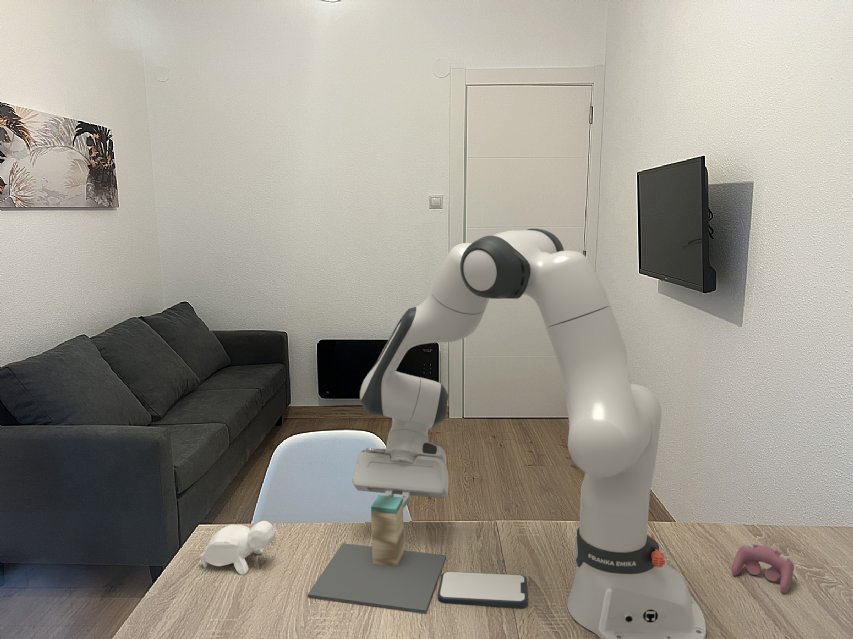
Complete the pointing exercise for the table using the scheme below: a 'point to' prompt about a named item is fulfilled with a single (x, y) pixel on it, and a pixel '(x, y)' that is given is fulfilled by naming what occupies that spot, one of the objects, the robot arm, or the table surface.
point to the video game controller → (778, 561)
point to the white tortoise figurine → (237, 545)
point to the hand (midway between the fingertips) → (394, 514)
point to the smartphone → (483, 589)
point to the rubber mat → (379, 579)
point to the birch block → (387, 530)
